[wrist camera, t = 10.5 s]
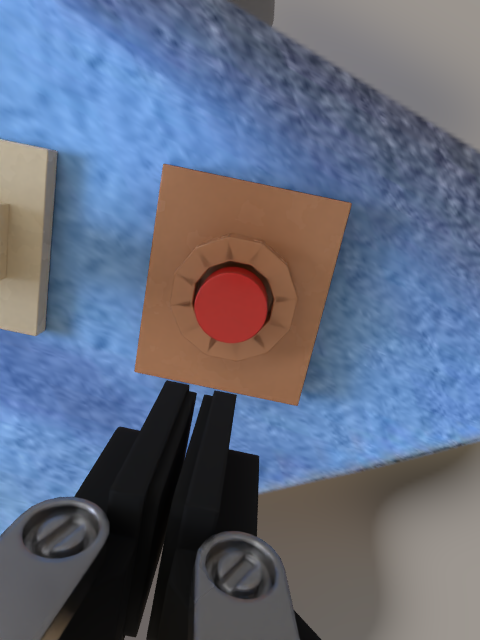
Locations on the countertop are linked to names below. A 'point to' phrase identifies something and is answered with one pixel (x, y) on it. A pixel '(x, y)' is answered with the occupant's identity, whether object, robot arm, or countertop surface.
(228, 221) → the control block
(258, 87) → the countertop surface
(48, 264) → the lever bracket
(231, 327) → the red button
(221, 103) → the countertop surface
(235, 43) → the countertop surface
